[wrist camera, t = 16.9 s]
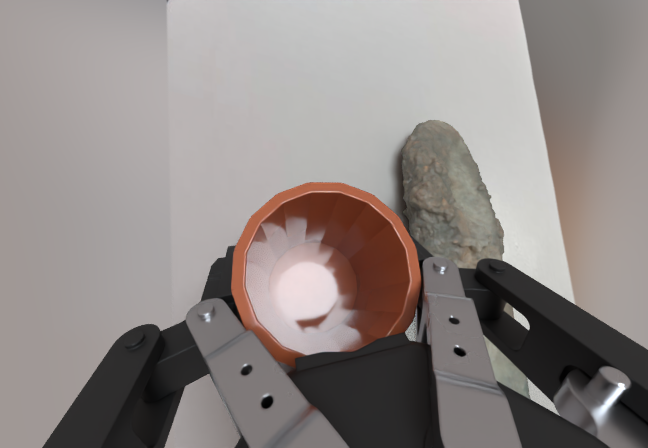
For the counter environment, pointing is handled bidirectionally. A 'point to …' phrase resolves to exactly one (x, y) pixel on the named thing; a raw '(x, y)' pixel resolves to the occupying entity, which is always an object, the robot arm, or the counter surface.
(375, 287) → the cup
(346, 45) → the counter surface
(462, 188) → the elongated rock
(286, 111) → the counter surface
